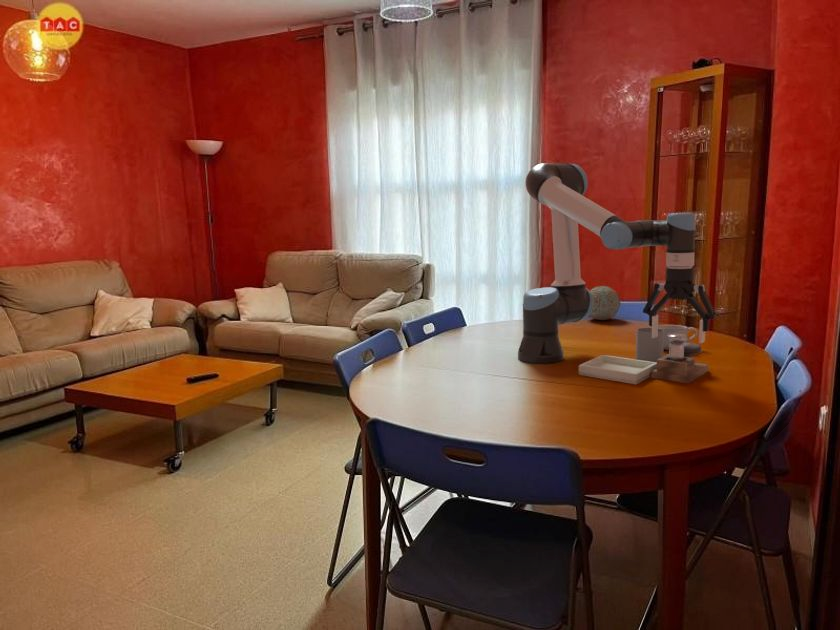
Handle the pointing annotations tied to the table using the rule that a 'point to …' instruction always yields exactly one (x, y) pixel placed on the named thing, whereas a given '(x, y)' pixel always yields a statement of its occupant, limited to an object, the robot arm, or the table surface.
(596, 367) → the tray
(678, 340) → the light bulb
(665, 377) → the block
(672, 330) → the teacup
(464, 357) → the table surface
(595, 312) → the decorative sphere
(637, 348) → the cup
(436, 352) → the table surface
